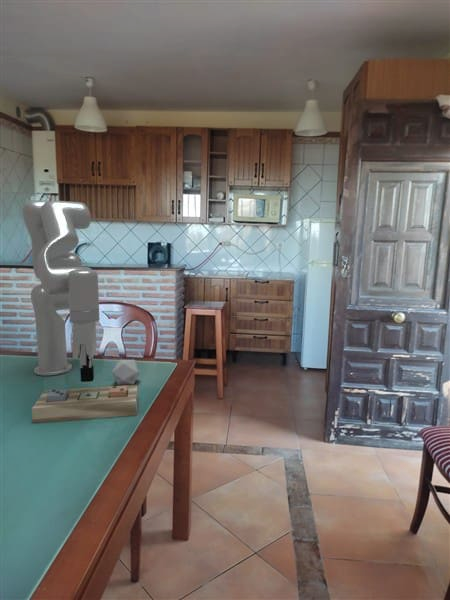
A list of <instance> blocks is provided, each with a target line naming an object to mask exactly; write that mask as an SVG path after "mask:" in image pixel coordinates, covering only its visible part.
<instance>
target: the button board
mask: <svg viewBox="0 0 450 600" xmlns="http://www.w3.org/2000/svg"><path fill="white" fill-rule="evenodd" d="M110 388H111V386H100V387H86V388H85V387H84V388H70V389H69V388H67V389H68V398H67V400H66V401H57V402H47V395H48V394H49V393H50V391H51V390H52V389H50V390H49V389H48V390H44V391H43V392H42V393H41V395H40V396H39V398H38V399H37V401H36V402H35V403H34V405H33V406H32V407H31V418H32V419H31V421H32V424H39V423H50V422H51V423H52V422H65V421H66V422H67V421H77V420H90V419H91V420H93V419H101V418H102V419H104V418H105V419H106V418H118V417H128V416H137V413H138V412H137V410H138V401H139V397H138V396H139V395H138V394H139V393H138V388H139V387H138V384H134V385H127V397H116V398H110V396H109V392H110ZM87 392H98V398H97V399H87V400H79V398H80V395H81V393H87Z"/></svg>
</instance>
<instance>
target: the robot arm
mask: <svg viewBox="0 0 450 600" xmlns="http://www.w3.org/2000/svg"><path fill="white" fill-rule="evenodd" d="M22 217H23V218H22V219H23V222H24V225H25V228H26V229H27V231H28V234H29V237H30V240H31V251H32V252H31V253H32V264H33V266H32V267H33V271H34V275H35V278H37V279H39V281H40V284H38V285H36V286H34V287H33V288H32V289H31V292H30V298H31V299H30V301H31V305H32V309H33V313H34V319H35V331H36V332H35V333H36V345H37V346H36V347H37V348H36V349H37V360H38V361H37V362H38V365H37V366H36V367H35V368H34V369H33V372H34V374H35V375H38V376H42V377H43V376H57V375H62V374H65V373H68V372H70V371H71V370H72V369H73V364H72V363H70V362H68V354H67V353H68V351H67V338H66V336H67V335H66V323H65V320H64V318H63V316H61V315H60V314H59V313H58V312H57V311H61V310H68V311H69V322H70V323H71V324H72V360H73V361H77V360H78V358H79V364H80V367H79V368H80V369H79V370H80V382H81V383H86V382H91V383H92V382H93V381H94V380H95V371H94V368H95V367H94V355H95V354H96V350H97V327H96V326H97V323H98V322H99V321H100V300H99V299H100V297H99V275H98V273H97V271H96V270H94V269H92V268H90V267H88V266H83V262H82V259H81V258H80V255H79V254H77V253H75V252H72V251H73V250H75V249H76V248H77V247H78V245H79V236H78V233H77V230H85V229H88V228H89V227H90V225H91V221H92V220H91V219H92V218H91V212H90V209H89V208H88V206H87V205H86V204H85V203H83V202H81V201H79V202H78V201H69V200H67V201H66V200H29V201H26V202H25V203H24V204H23V205H22Z"/></svg>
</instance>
